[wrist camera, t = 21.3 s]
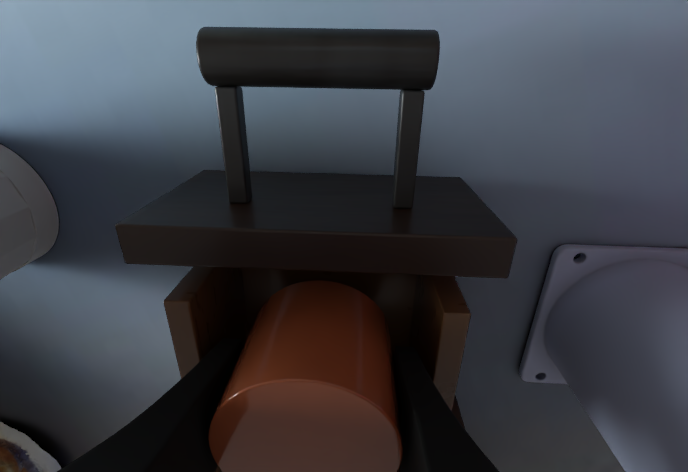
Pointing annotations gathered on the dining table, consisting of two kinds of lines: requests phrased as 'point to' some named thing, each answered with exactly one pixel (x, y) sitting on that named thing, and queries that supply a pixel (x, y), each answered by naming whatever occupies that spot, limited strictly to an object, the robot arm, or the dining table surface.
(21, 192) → the cup
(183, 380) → the robot arm
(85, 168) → the dining table surface
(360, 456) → the orange cylinder puck
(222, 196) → the drawer
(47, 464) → the dessert
